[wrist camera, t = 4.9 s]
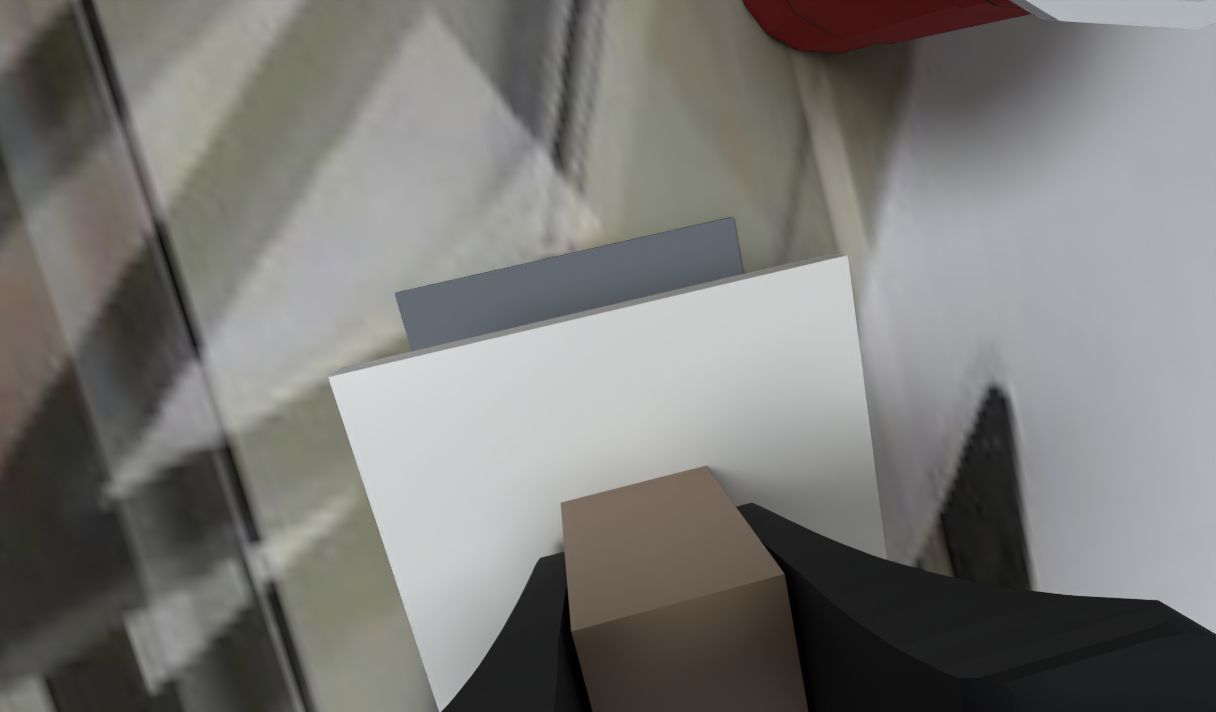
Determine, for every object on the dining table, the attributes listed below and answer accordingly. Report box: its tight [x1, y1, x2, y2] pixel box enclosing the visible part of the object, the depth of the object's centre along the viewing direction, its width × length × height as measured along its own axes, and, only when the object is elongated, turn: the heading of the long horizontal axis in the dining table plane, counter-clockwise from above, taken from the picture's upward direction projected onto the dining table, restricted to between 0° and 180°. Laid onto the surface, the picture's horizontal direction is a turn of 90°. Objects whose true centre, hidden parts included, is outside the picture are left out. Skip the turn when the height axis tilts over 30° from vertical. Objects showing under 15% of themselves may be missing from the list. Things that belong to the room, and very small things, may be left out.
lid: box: [329, 254, 887, 712], centre depth 11 cm, size 10×10×5 cm
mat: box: [395, 217, 743, 351], centre depth 21 cm, size 11×11×1 cm
